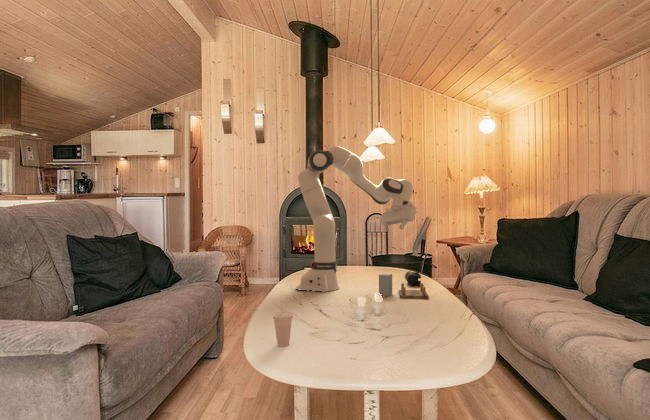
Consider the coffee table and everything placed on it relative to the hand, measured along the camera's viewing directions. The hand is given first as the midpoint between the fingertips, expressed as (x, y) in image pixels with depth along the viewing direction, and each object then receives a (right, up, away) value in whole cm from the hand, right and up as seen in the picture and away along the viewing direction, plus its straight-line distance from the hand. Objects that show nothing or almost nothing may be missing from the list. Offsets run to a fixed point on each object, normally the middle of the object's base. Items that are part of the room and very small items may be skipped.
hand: (393, 229), depth 214 cm
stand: (+7, -31, -12) cm, 34 cm away
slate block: (-5, -31, -10) cm, 33 cm away
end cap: (+12, -31, +13) cm, 36 cm away
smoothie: (-48, -33, -79) cm, 98 cm away
